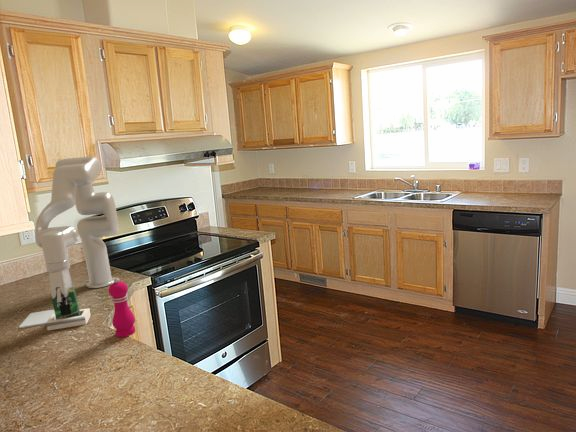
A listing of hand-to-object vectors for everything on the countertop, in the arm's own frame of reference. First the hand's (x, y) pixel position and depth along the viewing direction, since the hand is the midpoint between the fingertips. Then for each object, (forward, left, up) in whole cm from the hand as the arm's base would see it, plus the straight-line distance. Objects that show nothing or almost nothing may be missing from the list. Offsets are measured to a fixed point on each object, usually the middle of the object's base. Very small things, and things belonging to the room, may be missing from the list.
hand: (67, 312), depth 160 cm
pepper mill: (+18, +22, -5) cm, 29 cm away
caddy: (0, 0, -4) cm, 4 cm away
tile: (-9, -12, -4) cm, 16 cm away
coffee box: (0, 0, -4) cm, 4 cm away
